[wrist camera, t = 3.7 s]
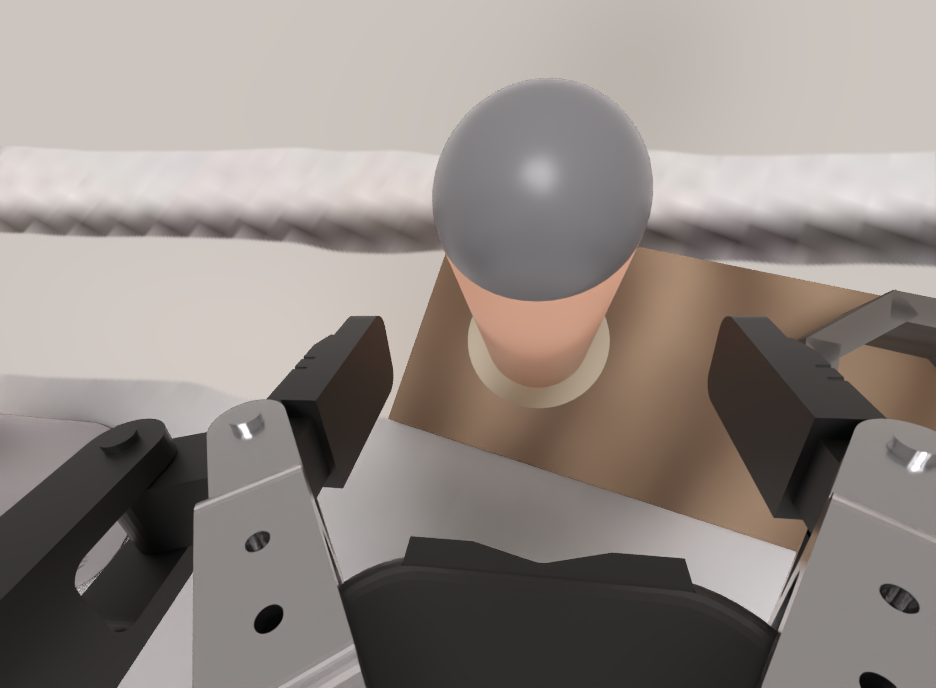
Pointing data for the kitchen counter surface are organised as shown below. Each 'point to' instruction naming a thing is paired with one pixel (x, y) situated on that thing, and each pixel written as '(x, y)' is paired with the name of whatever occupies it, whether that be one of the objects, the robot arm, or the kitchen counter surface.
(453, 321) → the jig
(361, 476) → the kitchen counter surface
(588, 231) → the round-topped orange cylinder
